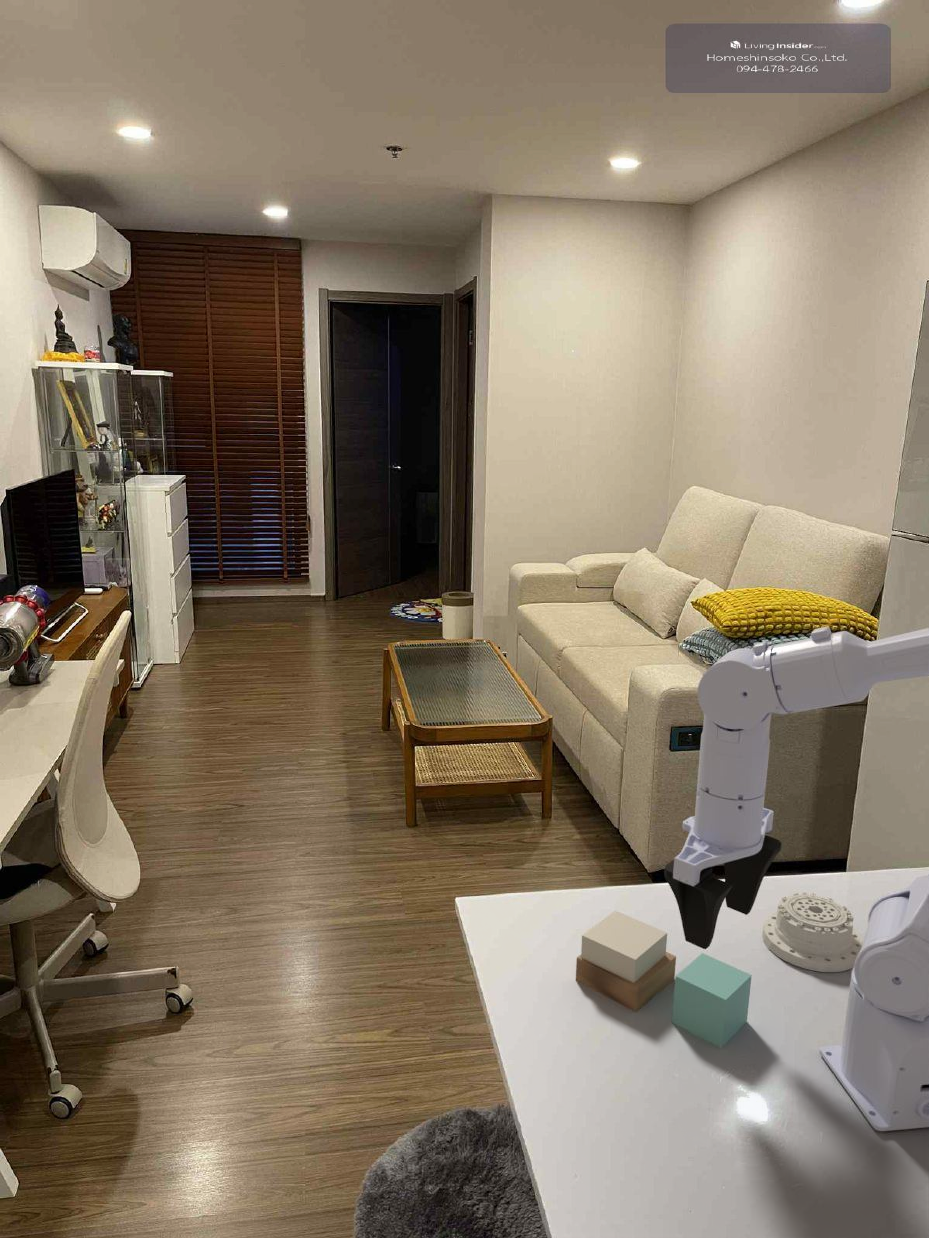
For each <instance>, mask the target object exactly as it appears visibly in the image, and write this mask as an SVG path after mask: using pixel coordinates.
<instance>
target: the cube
mask: <svg viewBox="0 0 929 1238" xmlns="http://www.w3.org/2000/svg"><path fill="white" fill-rule="evenodd" d="M752 976H753V975H752V974H750V973H748V972H746V971H744V970H741V969H739V968H737V967H735V966H732V965H730V964H727V963H725V962H723V961H721V960H719V959H717V958H714V957H712V956H710V955H708V954H706V953H704V952H703V953H700V954H699V956H697V957H696V958H695V959H694V960H692V961H691V962H690V963H689V964H688V965H687V966H686V967H684V968H683V969H682V970H680V972H678V973H677V974H675V978H674V990H673V991H674V992H673V1001H672V1002H673V1003H672V1013H671V1014H672V1017H671V1023H672V1024H673V1023H674V1025H676V1026H677V1027H679V1028H681V1029H684V1030H685V1031H687V1032H688V1033H691V1034H693V1035H695V1036H697V1037H698V1038H700V1037H701V1039H703V1040H704V1041H706V1042H708V1043H710V1044H713V1045H714V1046H717V1047H718V1048H720V1049H722V1048H723V1047H725V1045H726V1044H727V1042H729V1041H728V1040H731V1039H730V1038H731V1037H732V1038H733V1037H734V1035H736V1033H737V1032H739V1030H740V1029H742V1027H743V1026H745V1024H746V1023H747V1022H748V1013H749V1004H750V997H751V996H750V995H751V994H750V993H751V984H752Z"/></svg>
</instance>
